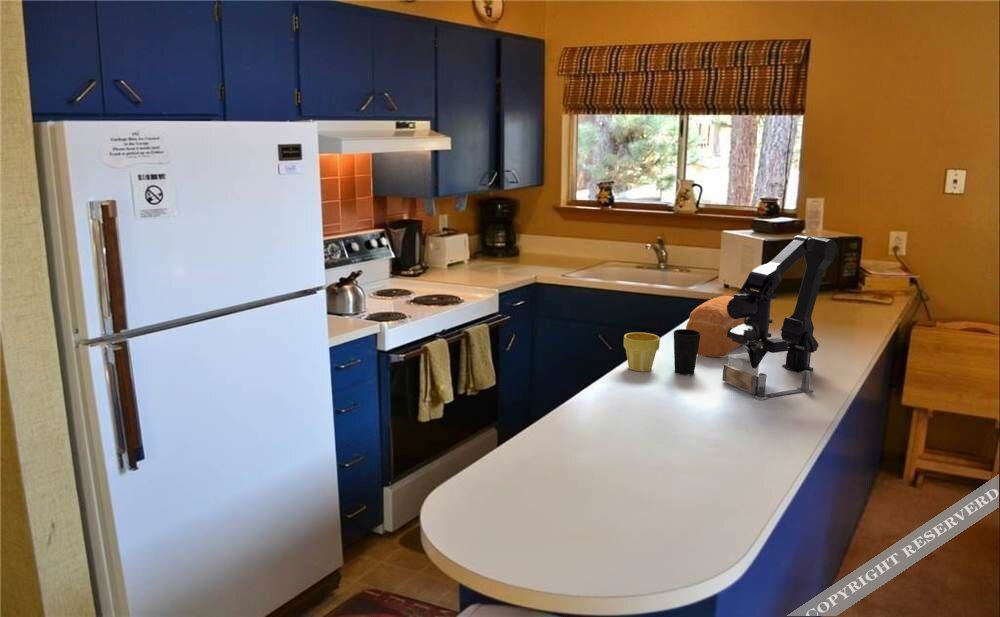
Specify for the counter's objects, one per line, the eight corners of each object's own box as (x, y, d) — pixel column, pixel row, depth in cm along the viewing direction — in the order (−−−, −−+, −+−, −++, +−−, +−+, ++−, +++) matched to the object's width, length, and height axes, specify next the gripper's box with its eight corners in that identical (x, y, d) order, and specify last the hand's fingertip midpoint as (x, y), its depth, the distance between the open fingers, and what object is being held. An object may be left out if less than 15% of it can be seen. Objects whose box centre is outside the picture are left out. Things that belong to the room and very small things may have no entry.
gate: (759, 393, 219) (760, 377, 218) (754, 394, 219) (756, 378, 218) (726, 379, 231) (727, 364, 230) (722, 380, 230) (723, 364, 229)
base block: (743, 369, 242) (745, 353, 241) (758, 375, 237) (760, 359, 236) (726, 371, 240) (728, 355, 239) (741, 378, 234) (743, 361, 233)
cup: (698, 377, 234) (701, 336, 232) (670, 375, 236) (673, 334, 233) (697, 369, 242) (700, 330, 239) (671, 367, 243) (673, 328, 240)
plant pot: (636, 361, 249) (638, 330, 246) (664, 368, 242) (666, 336, 239) (615, 367, 242) (616, 335, 239) (643, 376, 234) (646, 343, 232)
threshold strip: (796, 390, 225) (797, 389, 225) (802, 392, 223) (802, 391, 223) (762, 395, 220) (762, 394, 219) (767, 398, 218) (767, 397, 218)
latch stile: (804, 387, 227) (806, 369, 225) (813, 391, 224) (815, 372, 223) (796, 389, 225) (798, 370, 224) (804, 392, 223) (806, 373, 221)
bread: (680, 352, 259) (684, 303, 255) (710, 335, 280) (713, 290, 277) (723, 360, 252) (727, 310, 248) (750, 341, 273) (754, 295, 269)
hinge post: (760, 394, 220) (763, 371, 219) (770, 399, 217) (772, 375, 216) (750, 396, 219) (752, 373, 217) (759, 400, 216) (762, 377, 214)
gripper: (714, 310, 235) (710, 362, 238) (761, 325, 218) (755, 381, 222) (744, 307, 239) (740, 358, 243) (792, 321, 223) (786, 376, 227)
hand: (754, 368), depth 234 cm, fingers closed
